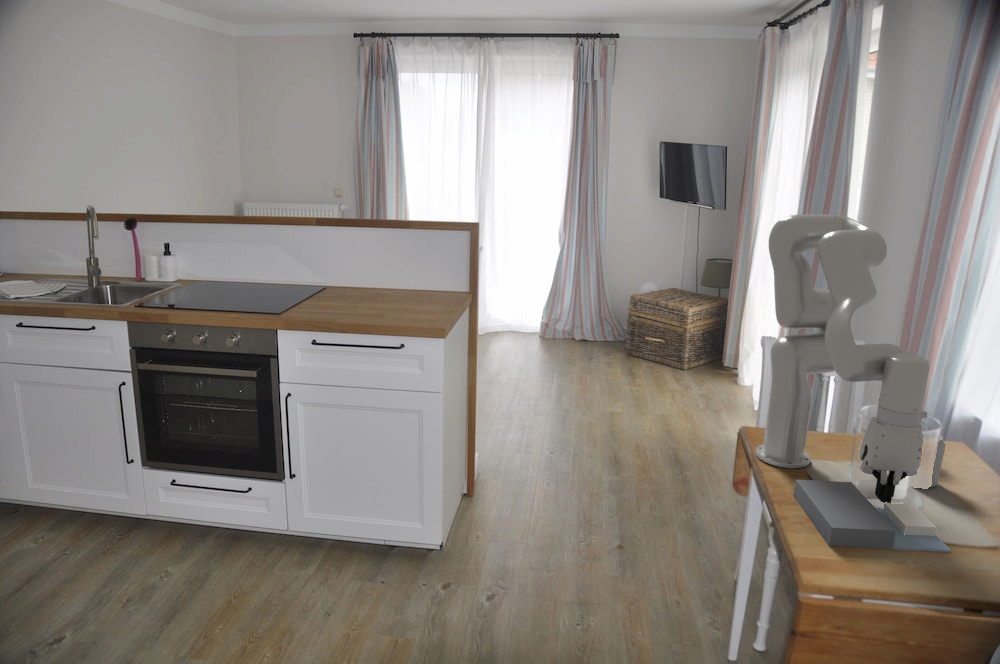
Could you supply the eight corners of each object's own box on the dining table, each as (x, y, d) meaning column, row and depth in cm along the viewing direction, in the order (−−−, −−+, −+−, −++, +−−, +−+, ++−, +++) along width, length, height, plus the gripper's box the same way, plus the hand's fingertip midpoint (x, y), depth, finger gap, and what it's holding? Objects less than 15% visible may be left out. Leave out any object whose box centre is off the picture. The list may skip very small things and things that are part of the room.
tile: (913, 504, 146) (912, 513, 147) (884, 503, 147) (883, 511, 147) (936, 527, 138) (934, 536, 138) (905, 525, 138) (903, 534, 139)
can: (942, 491, 158) (952, 442, 154) (906, 487, 159) (915, 439, 156) (929, 476, 165) (939, 429, 162) (895, 473, 166) (904, 426, 163)
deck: (793, 495, 154) (795, 479, 153) (848, 498, 153) (851, 482, 152) (828, 545, 135) (831, 527, 134) (892, 549, 134) (895, 530, 133)
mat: (848, 498, 153) (849, 497, 153) (900, 501, 153) (900, 499, 153) (892, 549, 134) (892, 547, 134) (951, 552, 133) (951, 550, 133)
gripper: (927, 410, 140) (911, 492, 145) (851, 407, 141) (838, 489, 146) (947, 424, 133) (930, 510, 138) (867, 421, 134) (853, 506, 139)
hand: (883, 499), depth 142 cm, fingers closed
